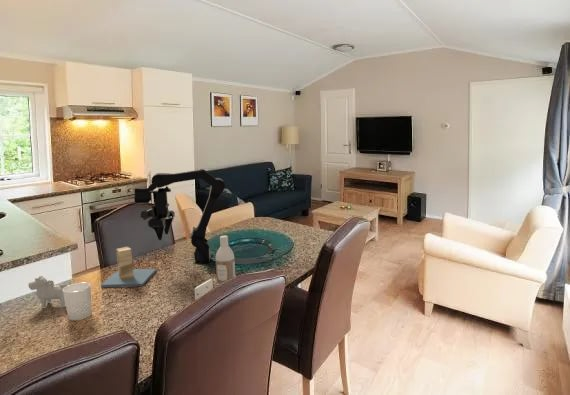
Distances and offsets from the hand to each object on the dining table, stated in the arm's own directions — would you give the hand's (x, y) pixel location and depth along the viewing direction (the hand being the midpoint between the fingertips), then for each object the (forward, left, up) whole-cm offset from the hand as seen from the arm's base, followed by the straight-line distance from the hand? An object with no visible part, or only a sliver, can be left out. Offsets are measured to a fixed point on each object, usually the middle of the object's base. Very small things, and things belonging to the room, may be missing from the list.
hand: (163, 237), depth 166 cm
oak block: (+11, +16, -12) cm, 23 cm away
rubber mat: (+10, +15, -13) cm, 22 cm away
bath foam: (-31, +26, -13) cm, 43 cm away
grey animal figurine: (+28, +38, -13) cm, 49 cm away
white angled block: (-26, +41, -13) cm, 50 cm away
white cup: (+14, +46, -13) cm, 50 cm away
